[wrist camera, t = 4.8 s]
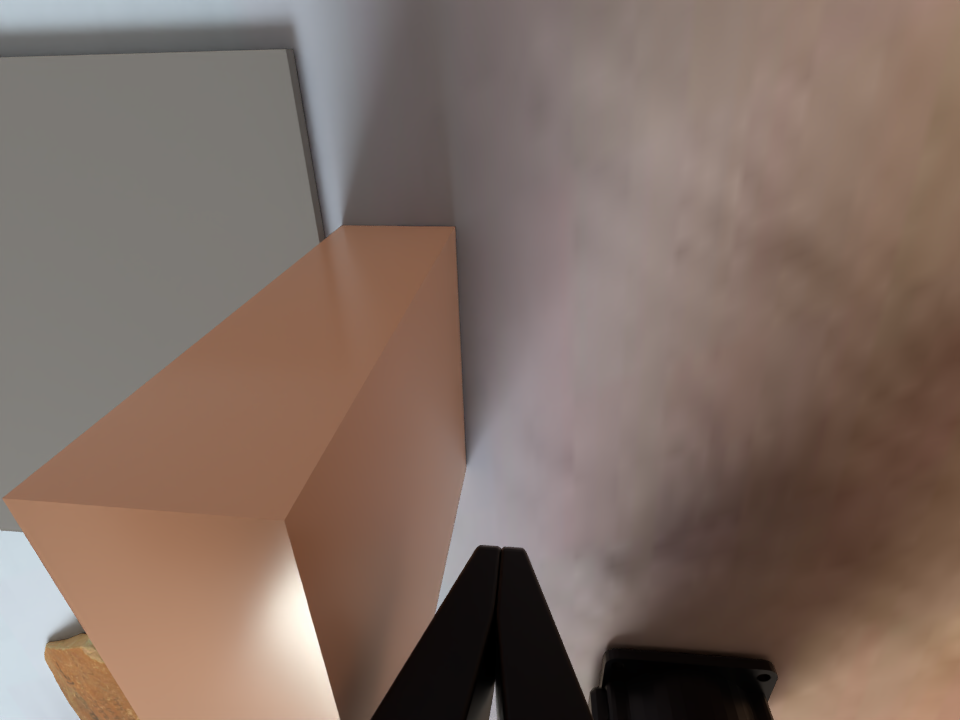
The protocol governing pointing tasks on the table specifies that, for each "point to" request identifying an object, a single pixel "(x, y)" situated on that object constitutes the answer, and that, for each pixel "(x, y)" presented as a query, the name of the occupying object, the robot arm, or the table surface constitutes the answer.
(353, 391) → the terracotta tile
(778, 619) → the table surface
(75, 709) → the pottery shard
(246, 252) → the rubber mat
